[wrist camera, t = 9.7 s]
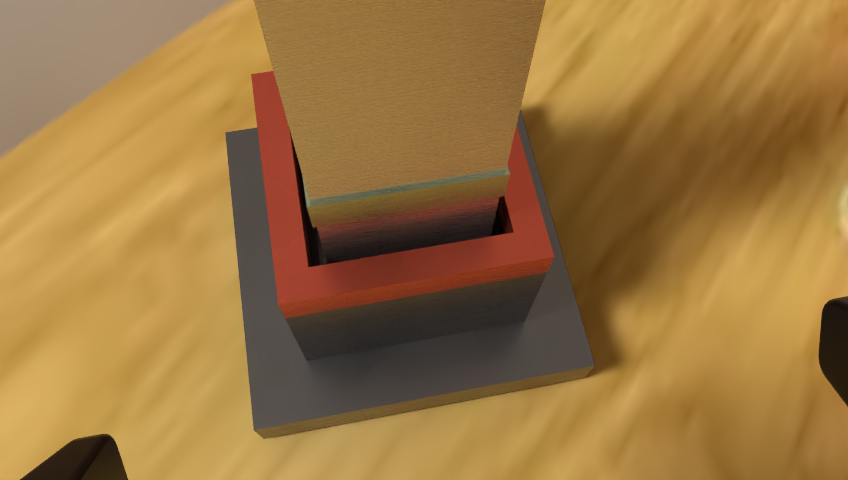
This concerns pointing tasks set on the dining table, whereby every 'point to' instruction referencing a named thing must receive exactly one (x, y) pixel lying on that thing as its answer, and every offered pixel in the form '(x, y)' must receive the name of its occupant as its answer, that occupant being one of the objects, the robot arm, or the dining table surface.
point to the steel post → (401, 114)
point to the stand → (391, 298)
